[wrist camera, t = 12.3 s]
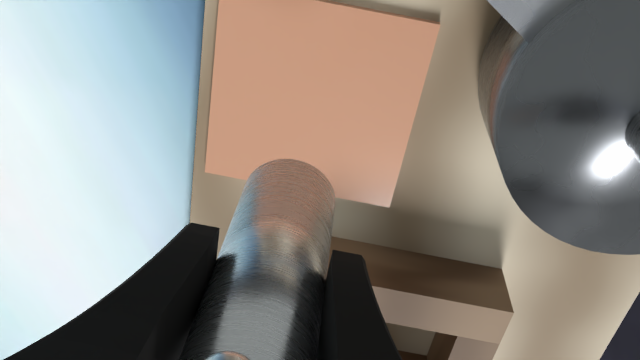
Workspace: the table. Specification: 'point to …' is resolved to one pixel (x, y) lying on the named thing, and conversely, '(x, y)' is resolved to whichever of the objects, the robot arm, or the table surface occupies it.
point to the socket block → (437, 299)
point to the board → (456, 202)
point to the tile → (317, 91)
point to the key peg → (269, 270)
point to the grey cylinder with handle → (568, 116)
